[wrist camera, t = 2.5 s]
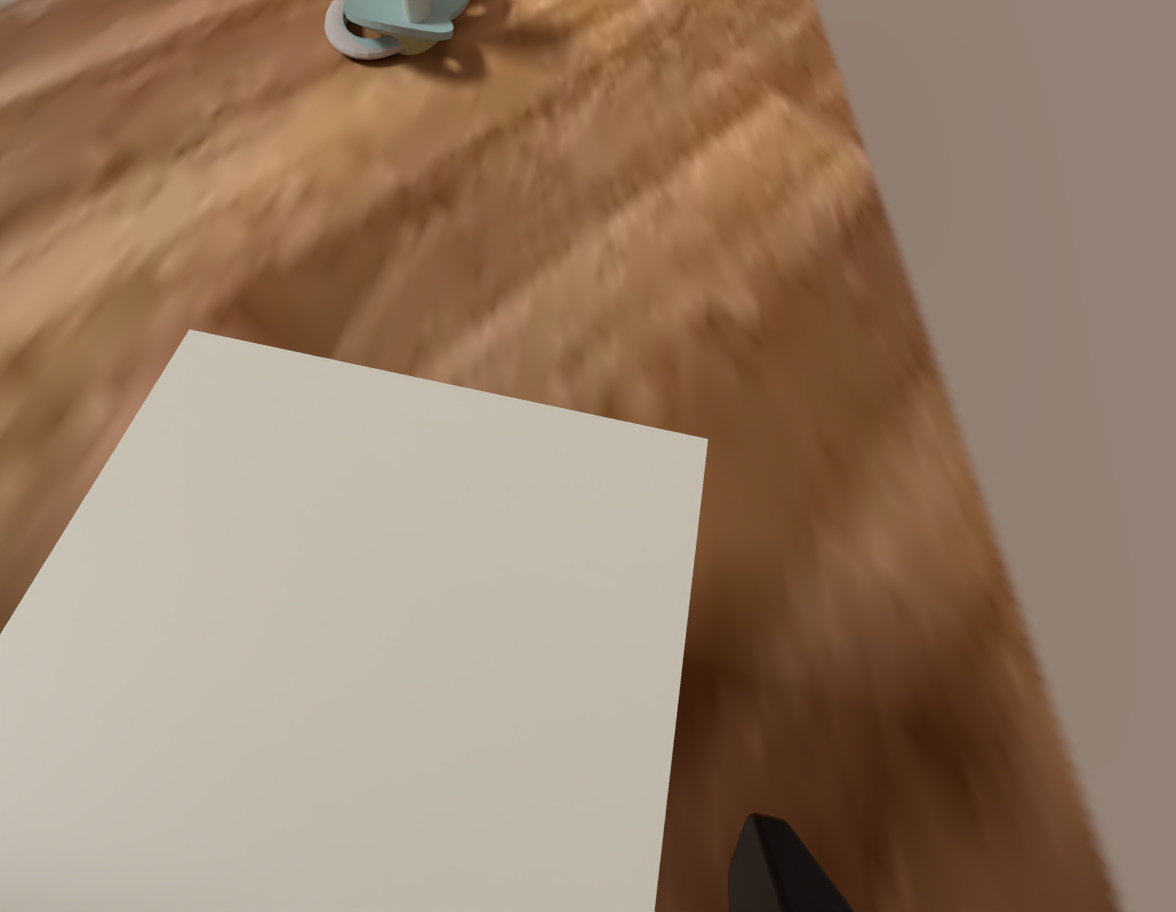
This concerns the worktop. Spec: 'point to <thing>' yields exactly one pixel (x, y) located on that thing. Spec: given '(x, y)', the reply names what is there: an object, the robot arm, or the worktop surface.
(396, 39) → the pacifier
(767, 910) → the robot arm
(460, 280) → the worktop surface
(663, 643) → the post
